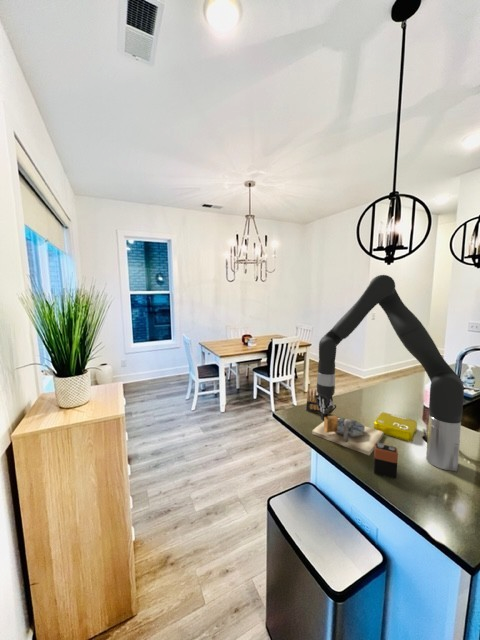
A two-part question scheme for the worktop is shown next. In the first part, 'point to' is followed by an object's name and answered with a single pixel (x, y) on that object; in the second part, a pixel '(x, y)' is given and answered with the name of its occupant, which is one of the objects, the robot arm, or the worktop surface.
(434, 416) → the robot arm
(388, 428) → the element tile
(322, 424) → the dial base
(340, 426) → the multicoloured piece
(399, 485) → the worktop surface
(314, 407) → the ammunition clip
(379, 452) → the battery
